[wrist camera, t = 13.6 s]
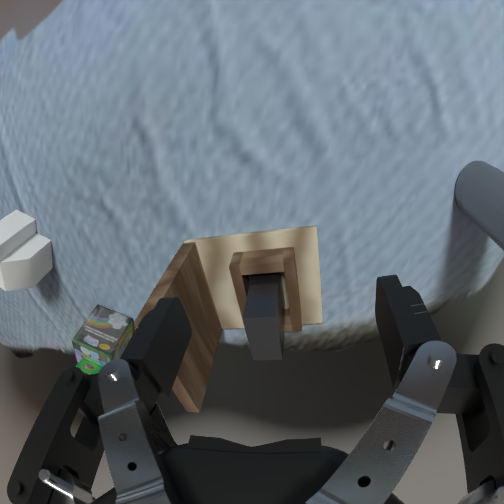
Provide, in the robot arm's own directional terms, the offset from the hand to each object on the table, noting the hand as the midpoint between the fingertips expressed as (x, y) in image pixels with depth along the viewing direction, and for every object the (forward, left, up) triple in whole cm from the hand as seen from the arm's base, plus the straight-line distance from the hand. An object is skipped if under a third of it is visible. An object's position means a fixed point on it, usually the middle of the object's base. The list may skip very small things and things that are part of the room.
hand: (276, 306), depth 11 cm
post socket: (+8, +20, -30) cm, 37 cm away
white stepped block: (+53, +6, -30) cm, 61 cm away
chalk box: (+40, +29, -30) cm, 58 cm away
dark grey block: (+5, +20, -29) cm, 35 cm away
